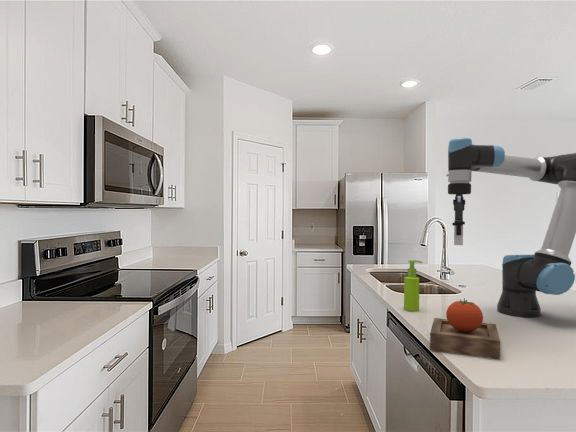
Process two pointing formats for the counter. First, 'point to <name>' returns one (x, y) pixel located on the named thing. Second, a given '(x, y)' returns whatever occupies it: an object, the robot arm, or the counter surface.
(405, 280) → the soap dispenser
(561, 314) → the counter surface
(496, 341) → the walnut box
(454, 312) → the tomato
